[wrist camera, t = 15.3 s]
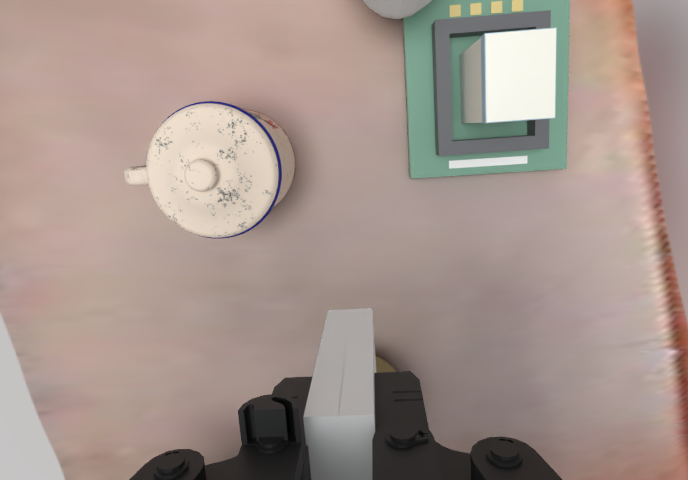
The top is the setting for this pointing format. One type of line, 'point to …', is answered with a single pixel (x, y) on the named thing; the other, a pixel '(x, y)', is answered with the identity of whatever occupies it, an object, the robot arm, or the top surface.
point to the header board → (444, 90)
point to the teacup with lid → (217, 168)
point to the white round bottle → (396, 7)
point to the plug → (509, 77)
